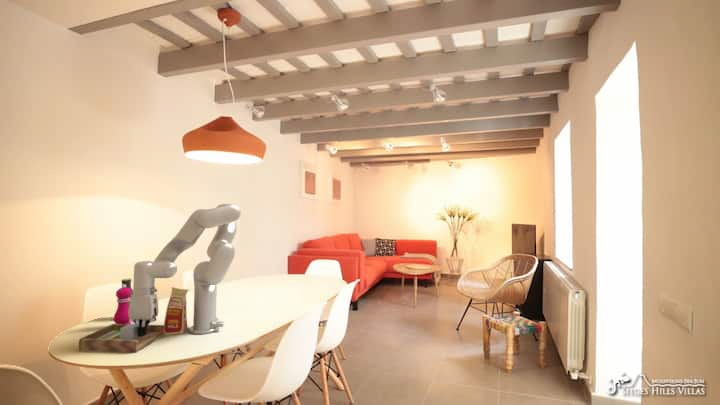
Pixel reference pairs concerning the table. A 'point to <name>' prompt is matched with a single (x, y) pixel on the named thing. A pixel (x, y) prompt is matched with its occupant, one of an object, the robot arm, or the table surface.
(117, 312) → the pepper mill
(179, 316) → the paper food bag
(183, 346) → the table surface
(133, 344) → the brown wooden tray
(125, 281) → the sauce bottle
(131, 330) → the block
